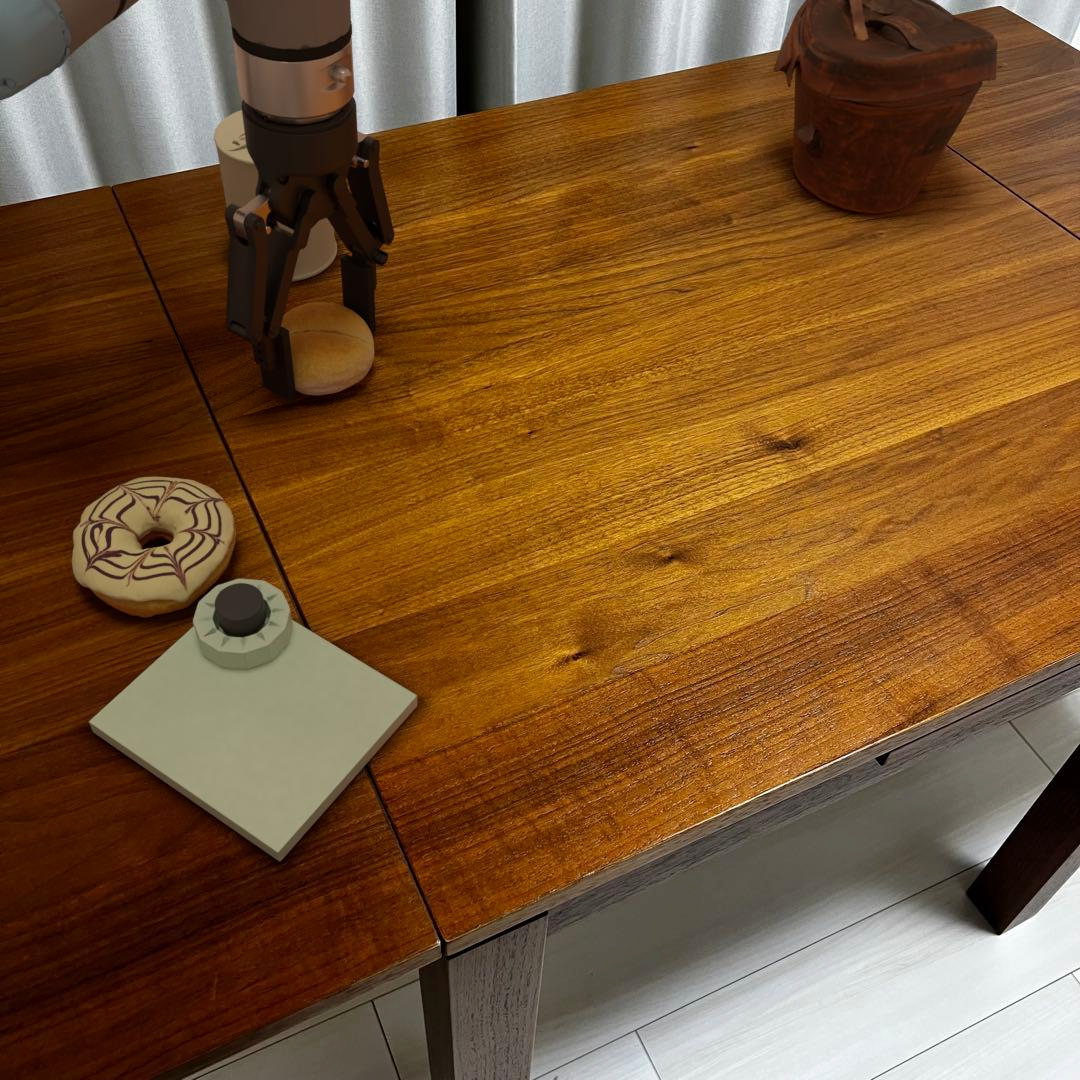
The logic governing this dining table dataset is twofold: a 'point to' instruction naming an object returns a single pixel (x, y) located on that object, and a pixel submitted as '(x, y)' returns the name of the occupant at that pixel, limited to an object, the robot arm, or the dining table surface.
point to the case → (879, 95)
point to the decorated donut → (162, 572)
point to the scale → (256, 721)
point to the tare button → (240, 609)
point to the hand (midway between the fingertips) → (321, 358)
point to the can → (241, 190)
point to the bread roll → (328, 347)
